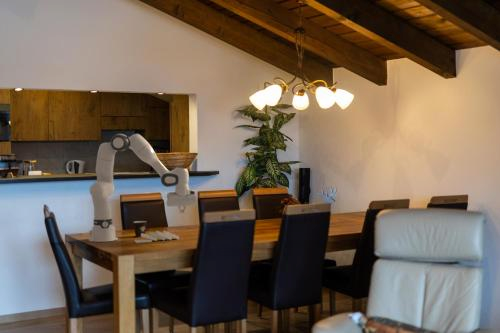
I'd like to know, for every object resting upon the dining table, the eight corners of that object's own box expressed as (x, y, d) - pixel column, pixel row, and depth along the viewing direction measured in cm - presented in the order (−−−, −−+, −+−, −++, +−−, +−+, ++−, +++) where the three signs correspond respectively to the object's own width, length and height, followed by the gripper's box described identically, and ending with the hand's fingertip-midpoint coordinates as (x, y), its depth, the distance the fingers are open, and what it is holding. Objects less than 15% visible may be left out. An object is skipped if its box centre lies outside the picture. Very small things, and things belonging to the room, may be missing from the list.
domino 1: (149, 241, 438) (134, 242, 434) (149, 238, 438) (134, 239, 434) (152, 242, 434) (136, 243, 430) (152, 239, 433) (136, 240, 429)
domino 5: (176, 238, 445) (162, 233, 441) (177, 235, 446) (163, 230, 442) (178, 239, 441) (164, 234, 437) (179, 236, 441) (166, 231, 437)
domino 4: (169, 239, 443) (155, 233, 439) (170, 236, 444) (156, 230, 440) (171, 240, 439) (157, 234, 435) (172, 237, 439) (158, 231, 435)
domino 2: (155, 240, 440) (140, 236, 437) (156, 237, 440) (141, 233, 437) (156, 240, 435) (141, 236, 432) (157, 237, 435) (142, 233, 432)
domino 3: (162, 239, 442) (148, 234, 438) (163, 236, 442) (149, 231, 438) (164, 240, 437) (150, 235, 433) (165, 237, 437) (151, 232, 434)
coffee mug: (134, 237, 453) (133, 222, 453) (133, 235, 462) (133, 221, 462) (151, 236, 456) (151, 222, 455) (150, 235, 464) (150, 220, 464)
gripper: (168, 192, 436) (168, 214, 437) (198, 191, 445) (198, 212, 446) (165, 191, 442) (165, 213, 443) (194, 191, 451) (194, 211, 451)
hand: (182, 212), depth 444 cm, fingers closed
